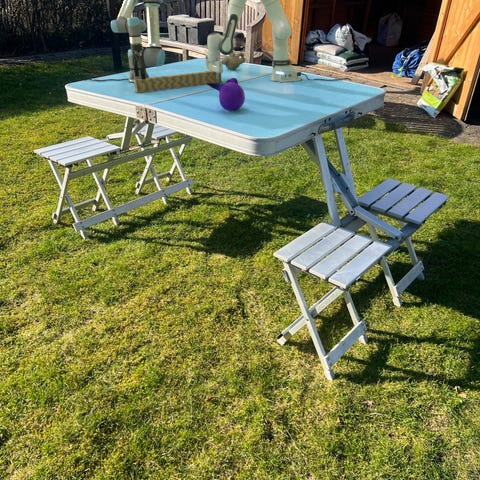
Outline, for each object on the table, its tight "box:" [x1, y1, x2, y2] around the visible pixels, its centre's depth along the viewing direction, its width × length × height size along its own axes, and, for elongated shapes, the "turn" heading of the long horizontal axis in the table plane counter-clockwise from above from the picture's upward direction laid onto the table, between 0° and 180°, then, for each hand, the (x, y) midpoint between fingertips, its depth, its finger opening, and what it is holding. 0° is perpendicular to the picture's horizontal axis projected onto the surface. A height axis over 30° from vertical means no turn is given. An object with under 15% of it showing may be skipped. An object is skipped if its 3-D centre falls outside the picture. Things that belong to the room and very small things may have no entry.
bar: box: [133, 70, 223, 94], centre depth 317 cm, size 64×4×8 cm, turn 119°
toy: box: [205, 77, 246, 112], centre depth 259 cm, size 16×18×27 cm
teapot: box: [221, 51, 245, 71], centre depth 369 cm, size 21×12×15 cm, turn 120°
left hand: (140, 77), depth 303 cm, fingers open, 13 cm apart
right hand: (215, 77), depth 329 cm, fingers closed on bar, 4 cm apart
